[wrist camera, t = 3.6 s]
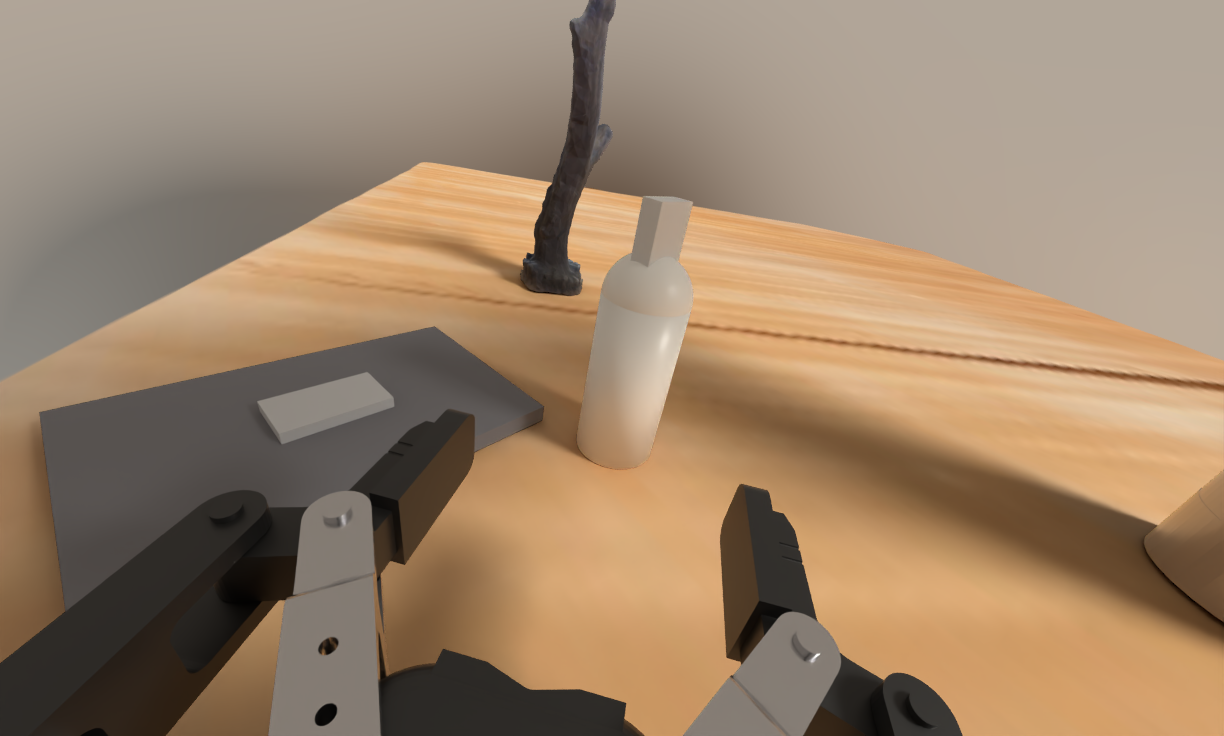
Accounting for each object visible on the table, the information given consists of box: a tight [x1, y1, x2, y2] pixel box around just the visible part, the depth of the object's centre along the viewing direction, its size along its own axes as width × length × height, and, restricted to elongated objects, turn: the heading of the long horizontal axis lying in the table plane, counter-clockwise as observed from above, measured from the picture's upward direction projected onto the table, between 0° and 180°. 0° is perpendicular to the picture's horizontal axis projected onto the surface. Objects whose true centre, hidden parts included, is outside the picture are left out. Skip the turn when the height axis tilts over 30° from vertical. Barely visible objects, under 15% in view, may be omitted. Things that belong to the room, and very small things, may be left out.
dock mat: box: [39, 327, 544, 612], centre depth 22 cm, size 18×12×2 cm, turn 137°
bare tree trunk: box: [520, 0, 616, 296], centre depth 39 cm, size 12×8×25 cm
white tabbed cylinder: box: [576, 196, 693, 469], centre depth 22 cm, size 4×4×14 cm
